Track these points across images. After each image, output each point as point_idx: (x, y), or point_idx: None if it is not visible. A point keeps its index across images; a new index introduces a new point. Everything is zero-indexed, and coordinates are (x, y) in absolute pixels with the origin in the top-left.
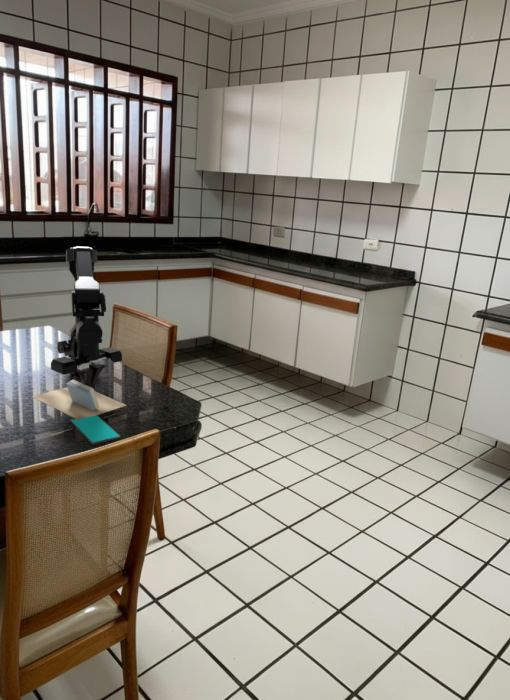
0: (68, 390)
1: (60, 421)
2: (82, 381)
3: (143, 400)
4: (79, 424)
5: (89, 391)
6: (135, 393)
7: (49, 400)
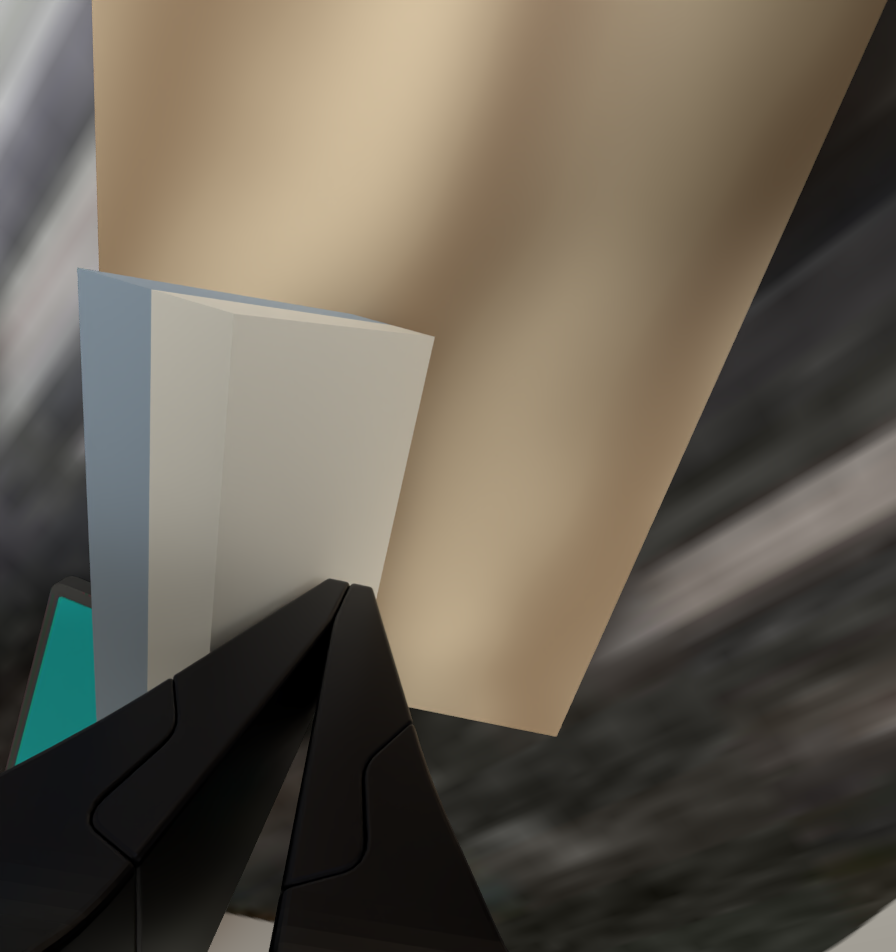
0: None
1: (9, 522)
2: (218, 648)
3: (728, 749)
4: (66, 684)
5: None
6: (863, 636)
7: (188, 20)
